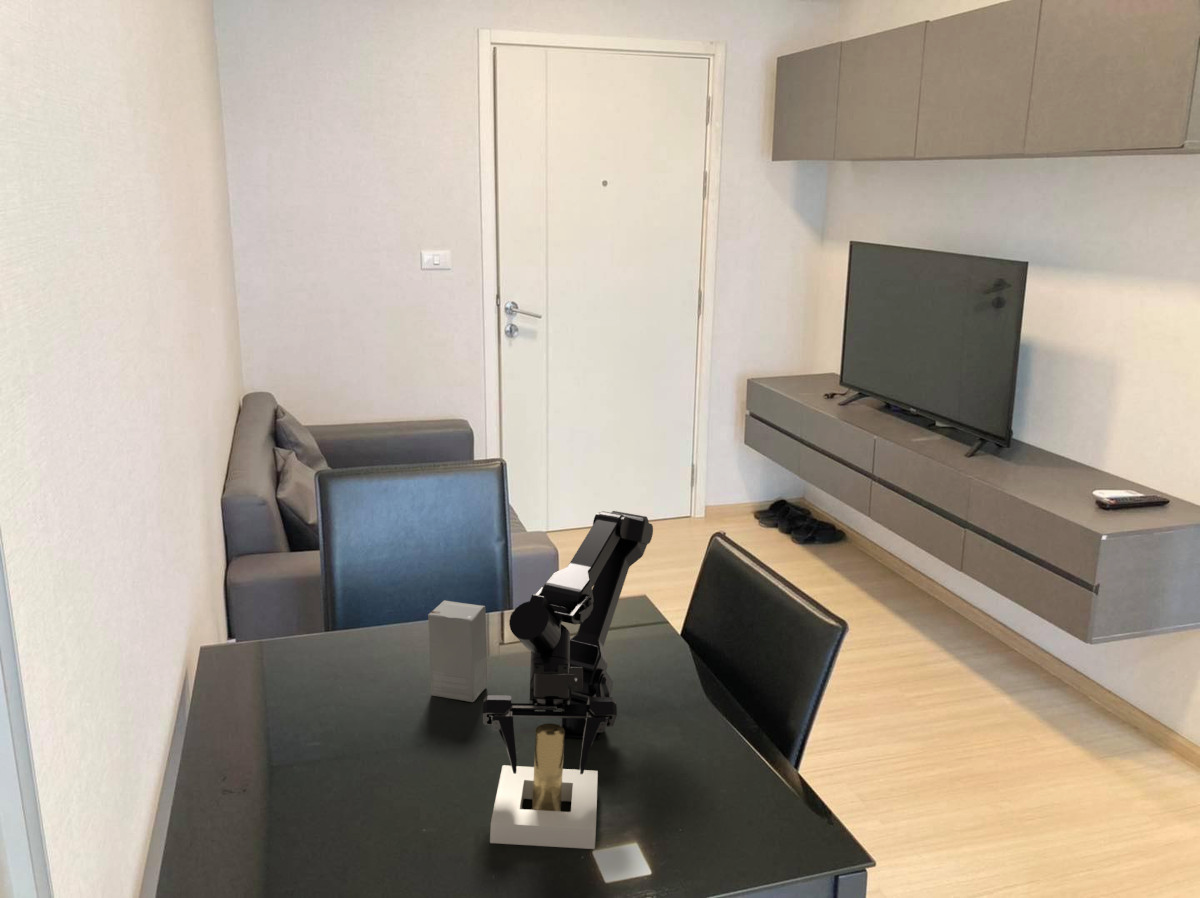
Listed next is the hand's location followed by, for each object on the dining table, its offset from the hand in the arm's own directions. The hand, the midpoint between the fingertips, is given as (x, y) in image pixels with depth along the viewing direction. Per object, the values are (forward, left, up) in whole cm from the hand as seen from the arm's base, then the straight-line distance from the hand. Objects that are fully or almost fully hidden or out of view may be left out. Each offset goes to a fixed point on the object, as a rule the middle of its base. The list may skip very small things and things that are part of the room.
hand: (548, 773), depth 134 cm
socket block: (0, +1, -7) cm, 7 cm away
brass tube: (0, +2, -7) cm, 8 cm away
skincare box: (-18, +35, -8) cm, 40 cm away
